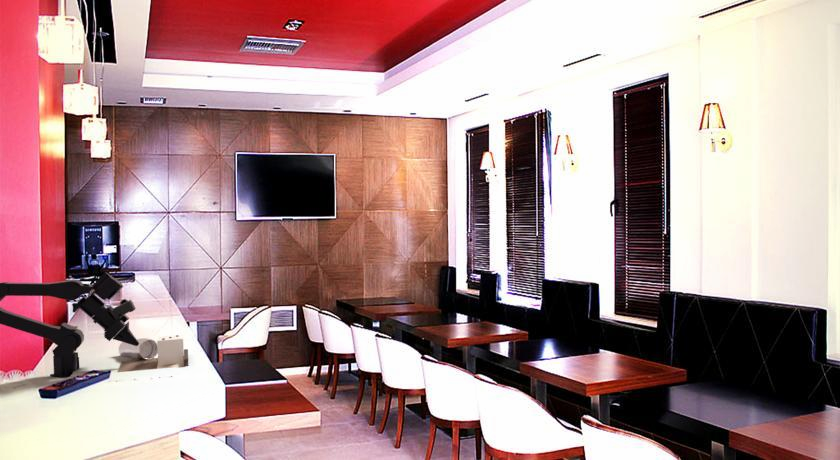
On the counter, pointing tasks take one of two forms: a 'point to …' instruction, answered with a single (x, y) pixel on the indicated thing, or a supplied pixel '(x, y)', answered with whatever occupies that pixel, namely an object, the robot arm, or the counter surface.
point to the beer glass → (140, 349)
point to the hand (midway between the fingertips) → (138, 344)
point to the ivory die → (170, 350)
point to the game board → (149, 364)
